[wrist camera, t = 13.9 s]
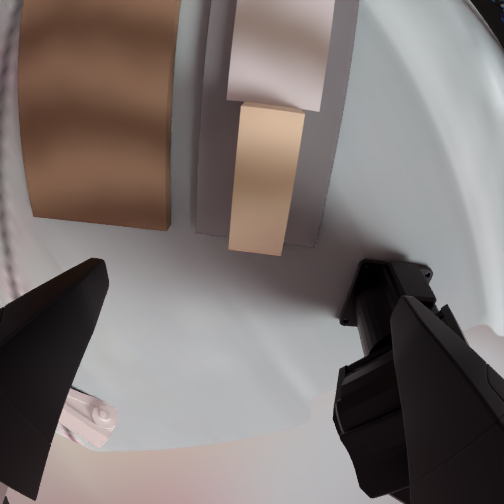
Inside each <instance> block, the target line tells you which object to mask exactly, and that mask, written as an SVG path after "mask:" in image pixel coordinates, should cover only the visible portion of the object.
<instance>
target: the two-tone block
mask: <svg viewBox="0 0 504 504" xmlns="http://www.w3.org/2000/svg"><path fill="white" fill-rule="evenodd" d="M334 3H335V0H237V7H236V15H235V23H234V32H233V41H232V50H231V59H230V69H229V79H228V89H227V100H232V101H243V102H244V103H243V104H242V106H241V112H240V122H239V132H238V142H237V153H236V164H235V175H234V186H233V198H232V210H231V222H230V235H229V248H228V250H235V251H243V252H251V253H259V254H268V255H276V256H281V253H282V248H283V243H284V237H285V232H286V226H287V220H288V215H289V209H290V203H291V197H292V192H293V186H294V180H295V174H296V168H297V162H298V156H299V149H300V143H301V137H302V130H303V124H304V117H305V113H304V112H303V111H302V109H305V110H311V111H317V112H319V111H320V105H321V98H322V92H323V85H324V79H325V72H326V65H327V58H328V51H329V43H330V36H331V28H332V20H333V12H334Z"/></svg>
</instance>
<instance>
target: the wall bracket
mask: <svg viewBox="0 0 504 504" xmlns="http://www.w3.org/2000/svg"><path fill="white" fill-rule="evenodd" d="M117 421H118V412H117V410H116V408H115V407H113V406H111V405H109V404H107V403H105V402H103V401H101V400H99V399H97V398H95V397H92V396H89V395H86V394H83V393H80V392H78V391H75V390H73V389H71V388H70V390H69V393H68V396H67V398H66V401H65V404H64V407H63V410H62V413H61V415H60V418H59V421H58V422H60V423H61V424H63V425H64V426H65V427H67V428H68V429H70V430H71V431H73V432H74V433H76V434H77V435H79V436H80V437H82V438H83V439H85V440H87V441H88V442H90V443H91V444H93V445H95V446H96V447H98V448H101V446H102V445H103V444H104V443H105V442H106V441H107V440H108V439H109V437H110V435H111V433H112V431H113V429H114V427H115V425H116V423H117Z"/></svg>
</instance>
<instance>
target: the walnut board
mask: <svg viewBox="0 0 504 504" xmlns="http://www.w3.org/2000/svg"><path fill="white" fill-rule="evenodd" d="M180 4H181V0H24V2H23V9H22V17H21V27H20V38H19V55H18V104H19V122H20V134H21V144H22V153H23V161H24V168H25V175H26V181H27V187H28V192H29V198H30V203H31V208H32V212H33V217H41V218H50V219H60V220H69V221H79V222H88V223H97V224H106V225H115V226H124V227H133V228H142V229H151V230H160V231H167V230H168V228H169V226H170V225H171V213H170V147H171V115H172V94H173V78H174V64H175V51H176V40H177V30H178V21H179V12H180Z"/></svg>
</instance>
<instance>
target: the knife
mask: <svg viewBox="0 0 504 504" xmlns="http://www.w3.org/2000/svg"><path fill="white" fill-rule="evenodd" d="M470 1H471V2H472V3H473V5H474V6H475V7H476V9H477V10H478V11H479V13H480V14H481V15H482V17H483V18H484V20H485V21H486V22H487V24H488V25H489V27H490V28H491V30H492V31H493V33H494V34H495V36H496V37H497V39H498V41H499V42H500V44H501V45H502V47H503V49H504V0H470Z"/></svg>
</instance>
